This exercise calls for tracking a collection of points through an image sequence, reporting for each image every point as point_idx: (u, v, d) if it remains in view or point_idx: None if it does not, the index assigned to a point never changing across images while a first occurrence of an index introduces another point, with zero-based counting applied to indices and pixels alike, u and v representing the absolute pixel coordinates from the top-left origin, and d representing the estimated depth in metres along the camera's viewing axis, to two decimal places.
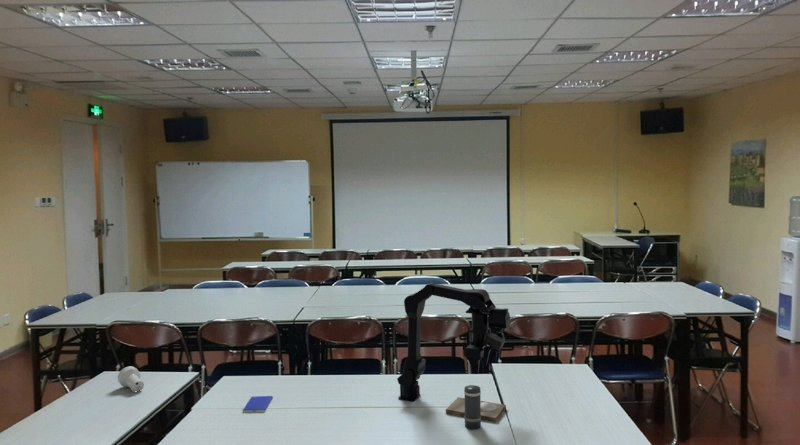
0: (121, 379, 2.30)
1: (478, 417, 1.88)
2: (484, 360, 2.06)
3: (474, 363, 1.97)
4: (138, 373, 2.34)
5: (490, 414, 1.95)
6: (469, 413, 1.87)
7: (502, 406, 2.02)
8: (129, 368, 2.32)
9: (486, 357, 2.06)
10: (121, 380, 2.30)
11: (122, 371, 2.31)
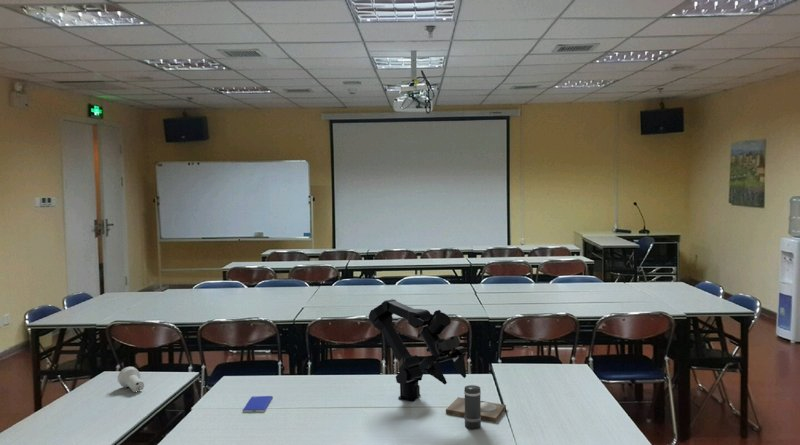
0: (121, 379, 2.29)
1: (478, 417, 1.88)
2: (462, 372, 1.99)
3: (437, 374, 1.94)
4: (138, 373, 2.34)
5: (490, 414, 1.95)
6: (469, 413, 1.87)
7: (502, 406, 2.02)
8: (129, 368, 2.32)
9: (461, 368, 1.99)
10: (121, 380, 2.29)
11: (122, 371, 2.31)
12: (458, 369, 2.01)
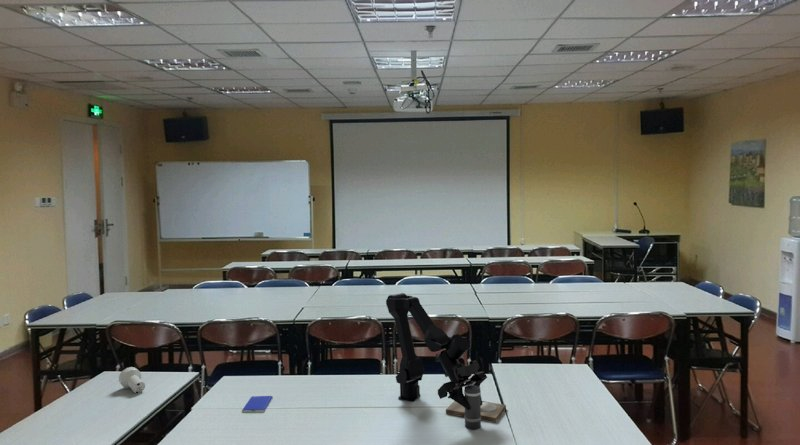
0: (122, 380, 2.29)
1: (478, 417, 1.88)
2: None
3: (460, 400, 1.88)
4: (139, 374, 2.33)
5: (490, 414, 1.95)
6: (469, 413, 1.87)
7: (502, 406, 2.02)
8: (130, 369, 2.31)
9: None
10: (122, 381, 2.29)
11: (123, 372, 2.30)
12: None
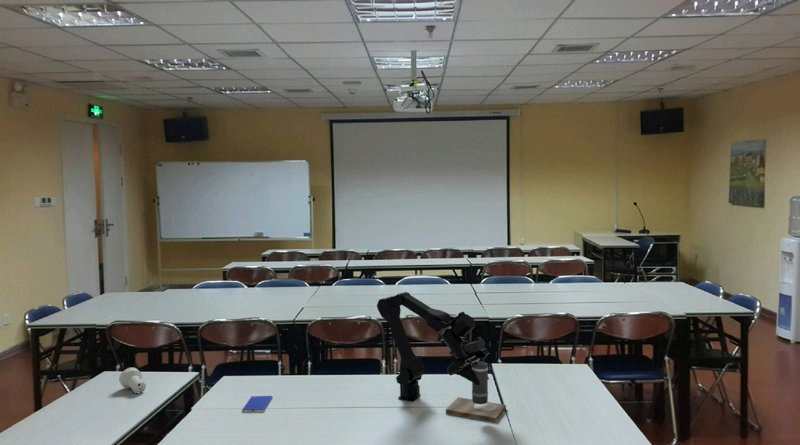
0: (123, 380, 2.28)
1: (486, 391, 1.93)
2: None
3: (469, 375, 1.92)
4: (140, 374, 2.32)
5: (490, 414, 1.95)
6: (478, 388, 1.92)
7: (502, 406, 2.02)
8: (131, 369, 2.31)
9: None
10: (123, 381, 2.28)
11: (124, 372, 2.29)
12: None
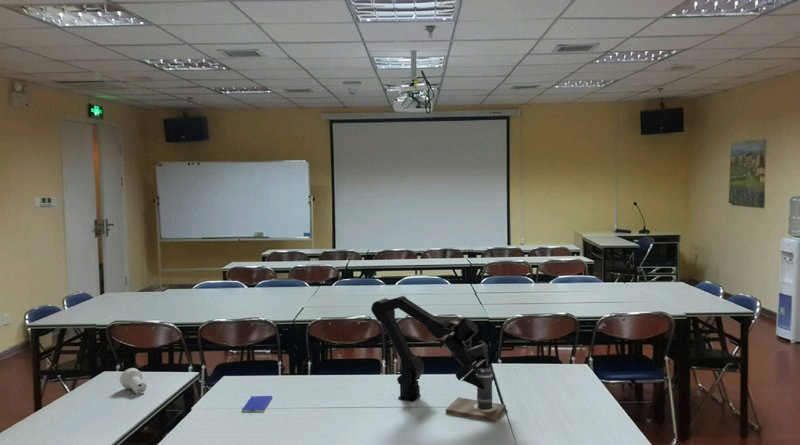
0: (123, 381, 2.27)
1: (491, 397, 2.00)
2: None
3: (474, 380, 1.96)
4: (140, 375, 2.32)
5: (490, 414, 1.95)
6: (484, 394, 1.99)
7: (502, 406, 2.02)
8: (131, 370, 2.30)
9: None
10: (123, 382, 2.27)
11: (124, 373, 2.29)
12: None
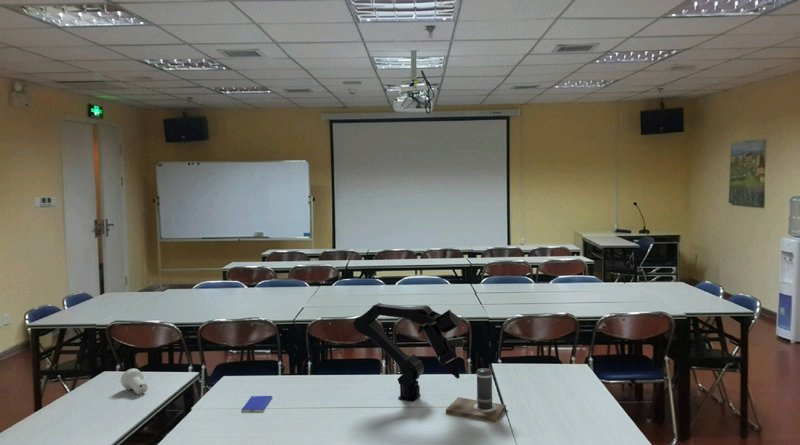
0: (124, 381, 2.27)
1: (491, 397, 2.00)
2: None
3: (452, 368, 2.02)
4: (141, 375, 2.31)
5: (490, 414, 1.95)
6: (484, 394, 1.98)
7: (502, 406, 2.02)
8: (132, 370, 2.29)
9: None
10: (124, 382, 2.27)
11: (125, 373, 2.28)
12: None
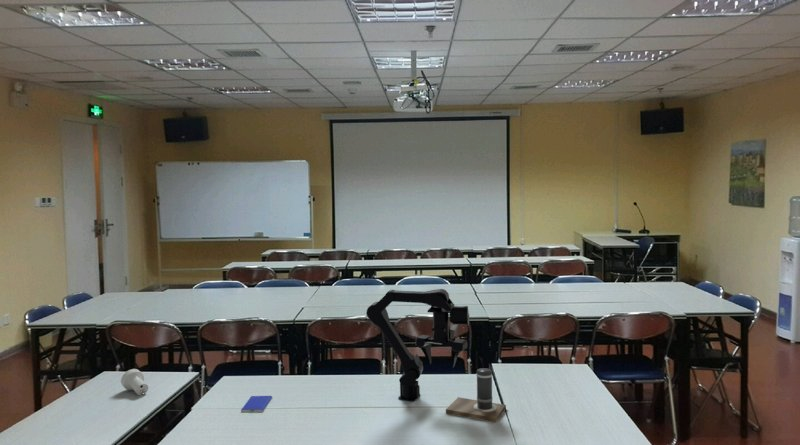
0: (125, 382, 2.26)
1: (491, 397, 2.00)
2: (430, 359, 2.14)
3: (455, 357, 2.09)
4: (142, 376, 2.31)
5: (490, 414, 1.95)
6: (484, 394, 1.98)
7: (502, 406, 2.02)
8: (133, 371, 2.29)
9: (430, 355, 2.14)
10: (125, 383, 2.26)
11: (126, 374, 2.28)
12: (428, 354, 2.13)
